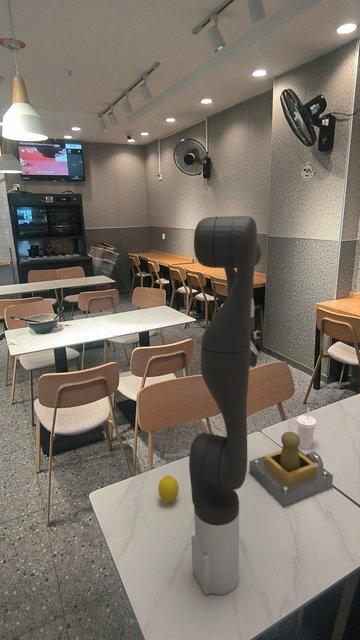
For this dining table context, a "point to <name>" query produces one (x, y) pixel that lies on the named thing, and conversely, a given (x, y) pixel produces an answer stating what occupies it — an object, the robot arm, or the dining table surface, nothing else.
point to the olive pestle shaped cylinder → (290, 452)
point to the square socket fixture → (291, 477)
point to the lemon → (168, 488)
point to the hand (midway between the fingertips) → (240, 368)
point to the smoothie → (306, 430)
